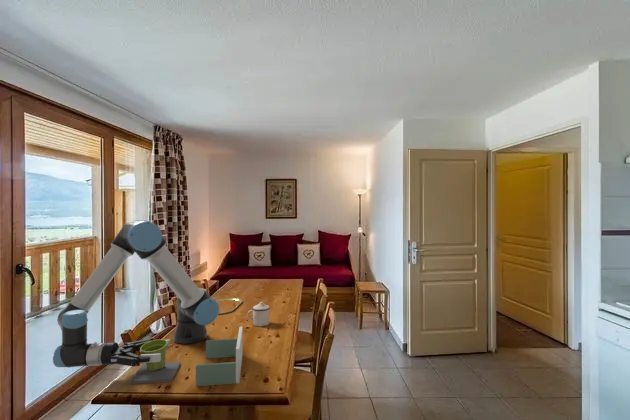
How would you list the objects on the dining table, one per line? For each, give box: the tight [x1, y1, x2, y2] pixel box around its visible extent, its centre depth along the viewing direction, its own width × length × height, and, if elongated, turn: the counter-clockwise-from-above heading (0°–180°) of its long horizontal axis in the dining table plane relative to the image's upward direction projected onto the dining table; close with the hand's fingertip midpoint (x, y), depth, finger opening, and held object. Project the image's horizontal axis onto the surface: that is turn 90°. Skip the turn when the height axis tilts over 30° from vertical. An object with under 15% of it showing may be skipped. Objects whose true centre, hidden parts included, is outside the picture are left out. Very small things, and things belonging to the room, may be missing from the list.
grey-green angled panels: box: [195, 326, 244, 387], centre depth 135 cm, size 15×24×12 cm, turn 9°
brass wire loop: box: [215, 297, 243, 315], centre depth 223 cm, size 19×35×2 cm, turn 176°
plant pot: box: [140, 338, 168, 371], centre depth 133 cm, size 9×9×9 cm
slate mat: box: [129, 361, 181, 385], centre depth 131 cm, size 14×14×1 cm
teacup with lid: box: [247, 301, 271, 327], centre depth 189 cm, size 12×9×12 cm
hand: (165, 350), depth 132 cm, fingers open, 13 cm apart
